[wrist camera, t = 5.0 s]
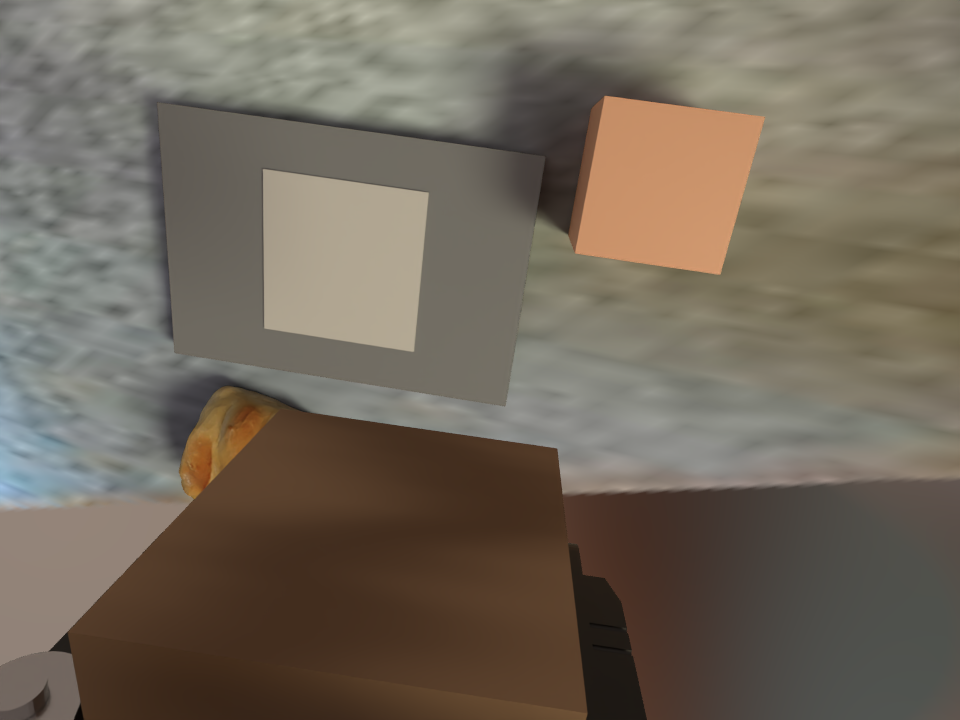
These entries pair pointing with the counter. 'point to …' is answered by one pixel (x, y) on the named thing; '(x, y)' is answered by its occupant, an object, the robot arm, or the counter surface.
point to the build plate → (346, 251)
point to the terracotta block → (662, 183)
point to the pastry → (223, 434)
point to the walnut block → (348, 587)
